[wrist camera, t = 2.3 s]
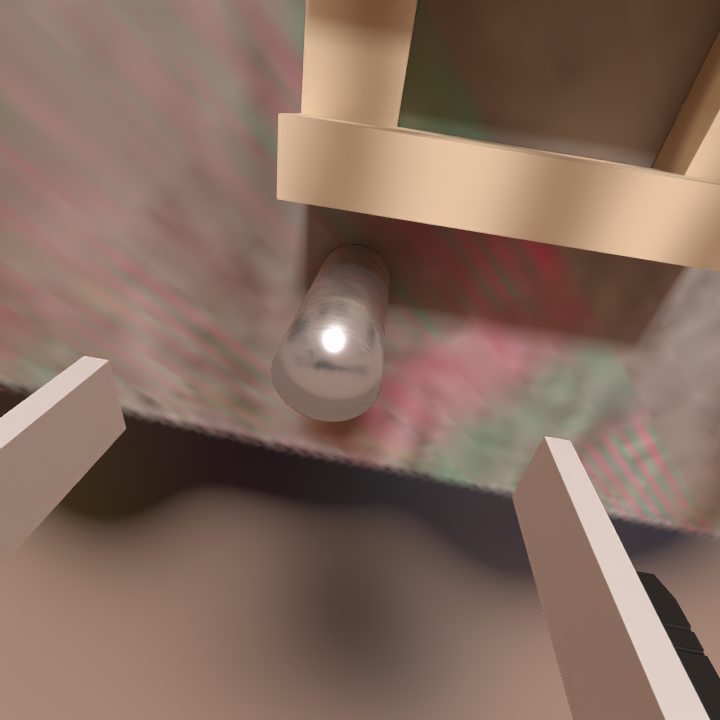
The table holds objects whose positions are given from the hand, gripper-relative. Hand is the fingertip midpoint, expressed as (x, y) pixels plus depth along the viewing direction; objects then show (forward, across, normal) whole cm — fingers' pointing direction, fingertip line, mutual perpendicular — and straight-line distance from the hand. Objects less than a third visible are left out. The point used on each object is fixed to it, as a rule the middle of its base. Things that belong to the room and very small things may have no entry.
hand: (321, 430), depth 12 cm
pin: (+12, 0, 0) cm, 12 cm away
